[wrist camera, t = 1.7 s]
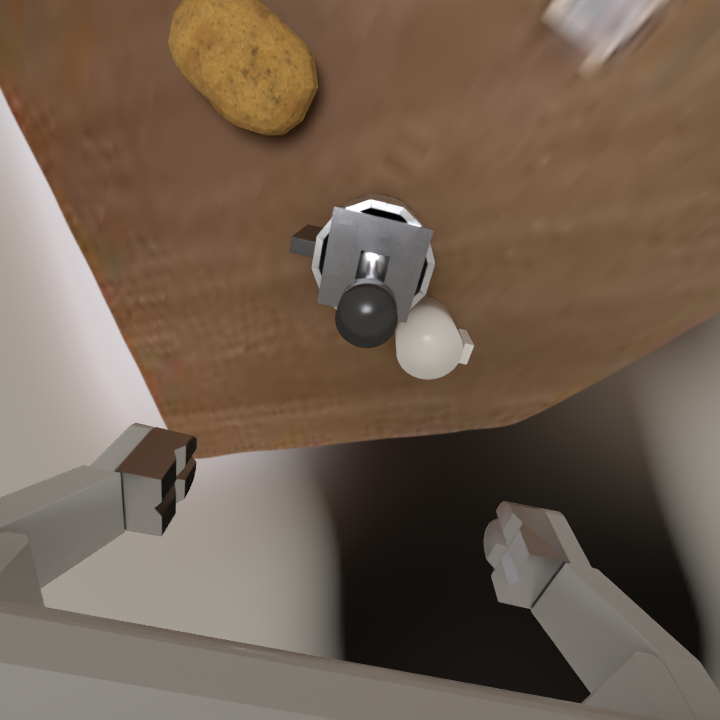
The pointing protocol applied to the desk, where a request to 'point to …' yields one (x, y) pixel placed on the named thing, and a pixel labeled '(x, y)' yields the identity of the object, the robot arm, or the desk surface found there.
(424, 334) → the white ceramic cylinder
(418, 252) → the carafe
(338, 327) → the plunger
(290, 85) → the potato
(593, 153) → the desk surface
